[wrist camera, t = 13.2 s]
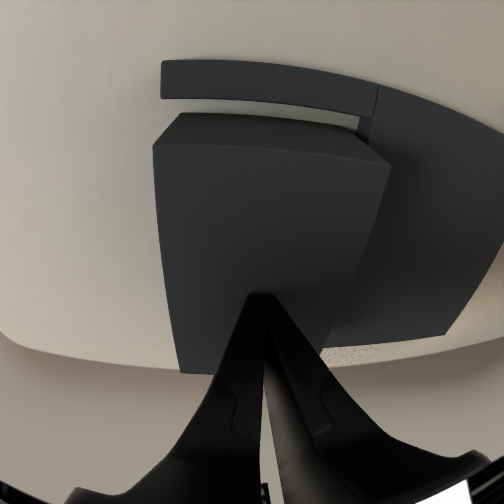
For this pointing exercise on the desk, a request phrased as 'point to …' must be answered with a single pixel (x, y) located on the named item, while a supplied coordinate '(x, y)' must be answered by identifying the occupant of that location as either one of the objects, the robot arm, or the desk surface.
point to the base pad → (390, 192)
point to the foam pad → (259, 223)
